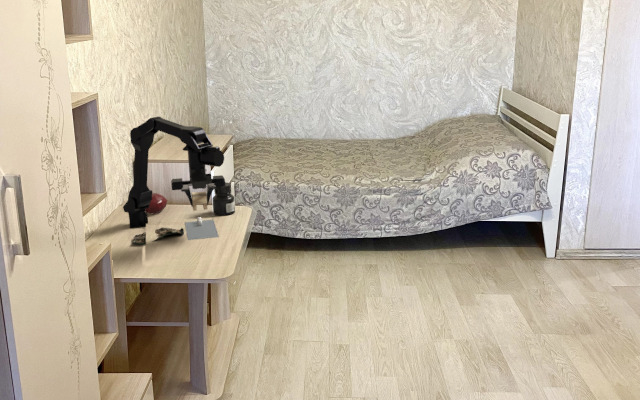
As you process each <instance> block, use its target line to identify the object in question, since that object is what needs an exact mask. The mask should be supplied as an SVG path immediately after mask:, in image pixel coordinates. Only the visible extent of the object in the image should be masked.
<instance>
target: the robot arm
mask: <svg viewBox="0 0 640 400" xmlns="http://www.w3.org/2000/svg"><path fill="white" fill-rule="evenodd" d="M159 132H162V133H163V134H164V133H165V134H168V135H171V136H173V137H176V138H177V139H179V141H181V143H183V144H184V145H185V146H184V147H183V148H182V151H185V152H186V151H187V158H188V173H189V180H183V178H182V177H181V178H179V177H178V178H172V179H171V180H170V184H171V191H181V192H182V193H184V194H185V195H186V196H187V198H188V201H189V203H190V206H191V207H192V208H193V202H192V192H191V189H190V187H192V189H193V190H197V189H202V190H204V189H206V195H207V206H208V205H209V203H210V198H211V196H212V193H213V191H214V189H216V187H222V186H225V182H226V178H225V177H224V176H223V175H213V176H212V173H206V166H211V167H219V168H220V167H222V166H223V164H224V161H225V155H224V153H223V151H222V150H221V149H220V146H214V145H213V143H212V141H211V140H210V138H209V136H208V135H207V133H206V132H205V129H204V128H203V127H201V126H190V125H189V126H187V125H182V124H179V123H177V122H174V121H170V120H169V119H165V118H163V117H161V116H154V117H150V118H149V119H147V120H146V121H145V122H143V123H141V124H139V125H138V126H136V127H133V128H132V129H131V130H130V132H129V136H130V144H131V145H132V147H133V149H134V162H133V164H134V165H133V184H132V187H131V189H130V191H129V192H128V197H127V201H126V202H125V204H123V207H122V210H123V211H124V213H127V214H128V219H129V221H128V223H129V229H133V228H134V229H135V228H146V227H147V225H148V224H149V218H148V217H149V216H148V213H147V212H146V211H145V209H146V208H149V205H150V202H151V200H152V194H153V190H152V189H150V188H149V186H148V173H149V172H148V170H149V169H148V168H149V167H148V166H149V164H148V163H149V150H150V148H151V147H152V145H153V143H154V139H155V135H156V134H157V133H159Z"/></svg>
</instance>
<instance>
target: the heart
mask: <svg viewBox="0 0 640 400" xmlns="http://www.w3.org/2000/svg"><path fill="white" fill-rule="evenodd" d="M167 204H168V199H167V198H166V197H165V196H164V195H163V194H160V193H157V192H152V200H151V202H150V205H149V208H146V209H145V211H146V212H147V214H151V215H157V214H159V213H161V212H162V211H163V210H164V209H165V208H166V207H167Z"/></svg>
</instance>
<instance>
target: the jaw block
mask: <svg viewBox="0 0 640 400" xmlns="http://www.w3.org/2000/svg"><path fill="white" fill-rule="evenodd" d="M191 198H192V202H193V207H192V210H193V211H198V209H197V205H199V204H202V206H203V211H204V210H206V211H207V210H208V205H207V191H193V192H191Z"/></svg>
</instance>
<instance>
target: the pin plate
mask: <svg viewBox="0 0 640 400" xmlns="http://www.w3.org/2000/svg"><path fill="white" fill-rule="evenodd" d="M196 219H197V220H194V221H185V222H184V225H185V232H186V238H187V241H193V240H194V241H195V240H203V239H213V238H219V236H220V235H219V234H218V230H217V227H216V224H215V221H214V219H206V220H203V218H202V217H201V216H200V217H199V216H198V217H196Z"/></svg>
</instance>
